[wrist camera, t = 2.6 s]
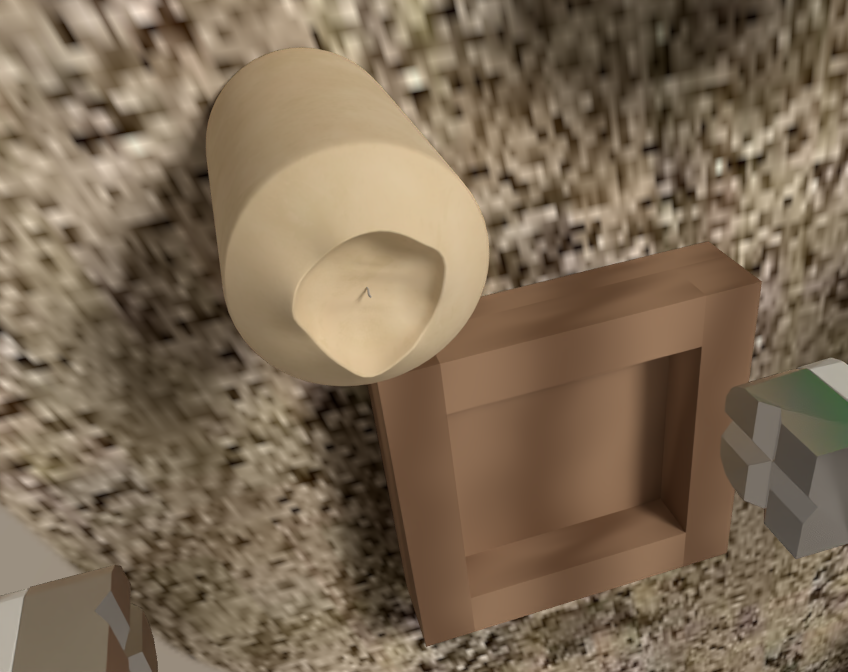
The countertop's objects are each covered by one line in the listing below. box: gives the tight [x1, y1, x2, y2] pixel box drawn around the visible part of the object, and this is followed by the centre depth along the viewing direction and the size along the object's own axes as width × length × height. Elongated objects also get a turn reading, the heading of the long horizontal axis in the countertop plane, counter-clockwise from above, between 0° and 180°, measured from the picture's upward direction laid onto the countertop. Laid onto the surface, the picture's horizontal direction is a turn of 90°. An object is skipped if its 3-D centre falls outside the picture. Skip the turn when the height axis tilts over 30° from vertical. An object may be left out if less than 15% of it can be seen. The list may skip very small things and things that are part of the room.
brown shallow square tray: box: [368, 241, 762, 647], centre depth 30 cm, size 13×13×3 cm
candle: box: [206, 48, 489, 386], centre depth 19 cm, size 6×6×10 cm
